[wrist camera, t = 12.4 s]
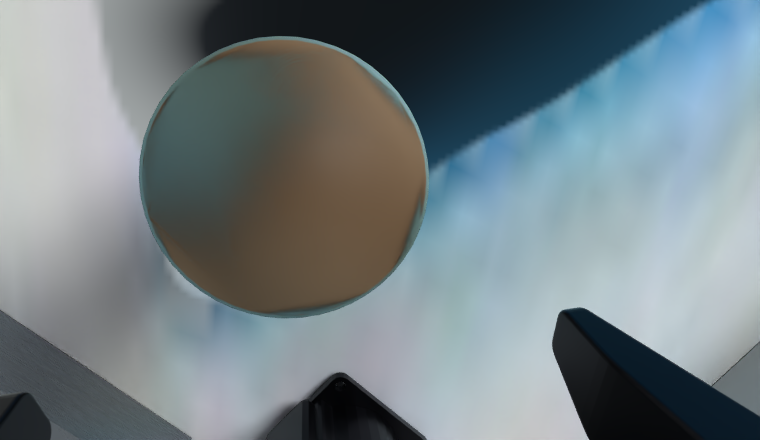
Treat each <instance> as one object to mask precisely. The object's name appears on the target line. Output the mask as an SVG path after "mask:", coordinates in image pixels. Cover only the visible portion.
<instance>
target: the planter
mask: <svg viewBox="0 0 760 440" xmlns="http://www.w3.org/2000/svg"><path fill="white" fill-rule="evenodd" d="M712 387H714V388H715V389H717V390H718V391H720V392H722V393H723V394H725V395H727V396H728V397H730V398H731V399H733V400H735V401H736V402H738V403H739V404H741V405H743V406H744V407H746V408H748V409H749V410H751V411H752V412H754V413H756V414H757V415H759V416H760V343H759V344H758V345H756V346H755V347H754V348H753V349H752V350H751V351H750V352H749V353H748V354H747V355H746V356H745V357H743V358H742V359H741V360H740V361H739V362H738V363H737V364H736V365H735V366H734V367H733V368H731V369H730V370H729V371H728V372H727V373H726V374H725V375H724V376H723V377H722V378H721V379H719V380H718V381H717V382H716V383H715V384H714V385H713V386H712Z"/></svg>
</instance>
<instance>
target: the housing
mask: <svg viewBox="0 0 760 440" xmlns="http://www.w3.org/2000/svg"><path fill="white" fill-rule="evenodd" d="M16 392H28V393H30V394H32V396H33V397H34V398H35V400H36V401H37V403H38V404H39V406H40V407H41V409H42V410H43V411H44V413H45V414H46V416H47V417H48V419H49V421H50V424H51V429H52V431H51V439H50V440H191V439H192V438H191V437H189V436H188V435H186V434H185V433H183V432H182V431H180V430H179V429H177V428H176V427H174V426H173V425H171V424H170V423H168V422H167V421H165V420H164V419H162V418H161V417H159V416H158V415H156V414H155V413H153V412H152V411H150V410H149V409H147V408H146V407H144V406H143V405H141V404H140V403H138V402H137V401H135V400H134V399H132V398H131V397H129V396H128V395H126V394H125V393H123V392H122V391H120V390H119V389H117V388H116V387H114V386H113V385H111V384H110V383H108V382H107V381H105V380H104V379H102V378H101V377H99V376H98V375H96V374H95V373H93V372H92V371H90V370H89V369H87V368H86V367H84V366H83V365H81V364H80V363H78V362H77V361H75V360H74V359H72V358H71V357H69V356H68V355H66V354H65V353H63V352H62V351H60V350H59V349H58V348H56V347H55V346H53V345H52V344H50V343H49V342H47V341H46V340H44V339H43V338H41V337H40V336H38V335H37V334H35V333H34V332H32V331H31V330H29V329H28V328H26V327H25V326H23V325H22V324H20V323H19V322H17V321H16V320H14V319H13V318H11V317H10V316H8V315H7V314H5V313H4V312H2V311H1V310H0V395H3V394H10V393H16Z"/></svg>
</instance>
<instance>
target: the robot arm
mask: <svg viewBox="0 0 760 440" xmlns="http://www.w3.org/2000/svg"><path fill="white" fill-rule="evenodd" d="M552 347H553V352H554V355H555V358H556V360H557V363H558V365H559V368H560V370H561V373H562V375H563V378H564V381H565V383H566V386H567V388H568V391H569V393H570V396H571V398H572V401H573V403H574V406H575V408H576V411H577V413H578V416H579V418H580V421H581V423H582V425H583V428H584V430H585V432H586V434H587V436H588V438H589V440H760V416H759V415H757V414H756V413H754V412H752V411H751V410H749V409H748V408H746V407H744V406H743V405H741V404H739V403H738V402H736V401H735V400H733V399H731V398H730V397H728V396H727V395H725V394H723V393H722V392H720V391H718V390H717V389H715V388H714V387H712V386H710V385H709V384H707V383H705V382H704V381H702V380H701V379H699V378H697V377H696V376H694V375H692V374H691V373H689V372H688V371H686V370H684V369H683V368H681V367H679V366H678V365H676V364H675V363H673V362H671V361H670V360H668V359H666V358H665V357H663V356H662V355H660V354H658V353H657V352H655V351H653V350H652V349H650V348H649V347H647V346H645V345H644V344H642V343H641V342H639V341H637V340H636V339H634V338H632V337H631V336H629V335H628V334H626V333H624V332H623V331H621V330H619V329H618V328H616V327H615V326H613V325H611V324H610V323H608V322H606V321H605V320H603V319H602V318H600V317H598V316H597V315H595V314H593V313H592V312H590V311H589V310H587V309H585V308H572V309H566V310H562V311H561V312H560V313H559V315H558V318H557V322H556V327H555V331H554V336H553V340H552ZM338 382H344V385H343V386H339V387H338V386H336V383H338ZM51 431H52V429H51V424H50V421H49V419H48V417H47V416H46V414H45V413H44V411H43V410H42V409H41V407H40V406H39V404H38V403H37V401H36V400H35V398H34V397H33V396H32V394H30V393H28V392H16V393H10V394H3V395H0V440H50V439H51ZM267 440H427V439H426V438H425V436H423V435H422V434H421V433H420V432H418V431H417V430H416V429H415V428H413V427H412V426H411V425H410V424H408V423H407V422H406V421H404V420H403V419H402V418H401V417H399V416H398V415H397V414H396V413H394V412H393V411H392V410H391V409H389V408H388V407H387V406H386V405H384V404H383V403H382V402H381V401H379V400H378V399H377V398H376V397H374V396H373V395H372V394H371V393H369V392H368V391H367V390H366V389H364V388H363V387H362V386H361V385H359V384H358V383H357V382H356V381H354V380H353V379H352V378H351V377H349V376H348V375H347V374H345V373H340V372H339V373H336V374H334V375H333V376H331V377H330V378H329V379H328V380H327V381H326V382H325V383H324V384H323V385H322V386H321V387H320V388H319V389H318V390H317V391H316V392H315V393H314V394H313V395H312V396H311V397H310V398H309V399H307V400H303V401H301V402H300V403H299V404H298V405H297V406H296V407H295V408H294V409H293V410H292V411H291V412H290V413H289V414H288V415H287V416H286V417H285V418H284V419H283V420H282V421H281V422H280V423H279V424H278V425H277V426H276V427H275V428H274V429H273V430H272V431H271V432H270V433H269V434H268V435H267Z"/></svg>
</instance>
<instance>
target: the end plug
mask: <svg viewBox="0 0 760 440" xmlns="http://www.w3.org/2000/svg"><path fill="white" fill-rule="evenodd" d="M139 183H140V194H141V200H142V204H143V208H144V212H145V216H146V219H147V221H148V224H149V227H150V229H151V232H152V234H153V236H154V238H155V239H156V241H157V243H158V245H159V247H160V248H161V250H162V252H163V253H164V254H165V256H166V257H167V258H168V260H169V261H170V262H171V264H172V265H173V266H174V267H175V268H176V269H177V270H178V271H179V272H180V274H181V275H182V276H183V277H184V278H185V279H186V280H188V281H189V282H190V283H191V284H193V285H194V286H195V287H197V288H198V289H199V290H200V291H202V292H203V293H205V294H206V295H208V296H210V297H211V298H213V299H214V300H216V301H218V302H221V303H223V304H225V305H227V306H229V307H231V308H234V309H237V310H240V311H243V312H246V313H250V314H255V315H260V316H265V317H275V318H302V317H308V316H314V315H320V314H324V313H327V312H330V311H334V310H337V309H339V308H342V307H344V306H346V305H349V304H351V303H353V302H355V301H357V300H358V299H360V298H362V297H364V296H365V295H367V294H368V293H370V292H371V291H372V290H374V289H375V288H376V287H378V286H379V285H380V284H381V283H383V282H384V281H385V280H386V279H387V278H388V277H389V276H390V275H391V274H392V273H393V272H394V271H395V269H396V268H397V267H398V266H399V264H400V263H401V262H402V261H403V259H404V258H405V256H406V255H407V253H408V252H409V250H410V248H411V247H412V245H413V243H414V241H415V239H416V237H417V234H418V232H419V230H420V227H421V224H422V221H423V218H424V214H425V210H426V205H427V199H428V188H429V172H428V160H427V156H426V151H425V146H424V142H423V139H422V136H421V133H420V131H419V128H418V125H417V123H416V121H415V119H414V117H413V115H412V113H411V111H410V109H409V108H408V106H407V105H406V103H405V102H404V100H403V99H402V98H401V96H400V95H399V93H398V92H397V91H396V90H395V89H394V88H393V86H392V85H391V84H390V83H389V82H388V81H387V80H386V79H385V78H384V77H383V76H382V75H381V74H379V73H378V72H377V71H376V70H375V69H374V68H372V67H371V66H370V65H368V64H367V63H365V62H364V61H362V60H361V59H359V58H358V57H356V56H355V55H352V54H350V53H348V52H346V51H344V50H342V49H340V48H338V47H335V46H332V45H329V44H326V43H323V42H320V41H316V40H310V39H305V38H299V37H284V36H274V37H264V38H256V39H251V40H247V41H243V42H239V43H235V44H233V45H230V46H228V47H225V48H223V49H220V50H218V51H216V52H214V53H213V54H211V55H209V56H207V57H205V58H203V59H202V60H200V61H199V62H197V63H196V64H195V65H194V66H192V67H191V68H190V69H188V70H187V71H186V72H185V73H184V74H183V75H182V76H181V77H180V78H179V79H178V80H177V81H176V82H175V83H174V84H173V85H172V86H171V87H170V89H169V90H168V91H167V93H166V94H165V96H164V97H163V98H162V100H161V101H160V102H159V104H158V106H157V108H156V110H155V112H154V114H153V116H152V118H151V119H150V122H149V125H148V128H147V130H146V133H145V136H144V139H143V144H142V150H141V155H140V166H139Z"/></svg>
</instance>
